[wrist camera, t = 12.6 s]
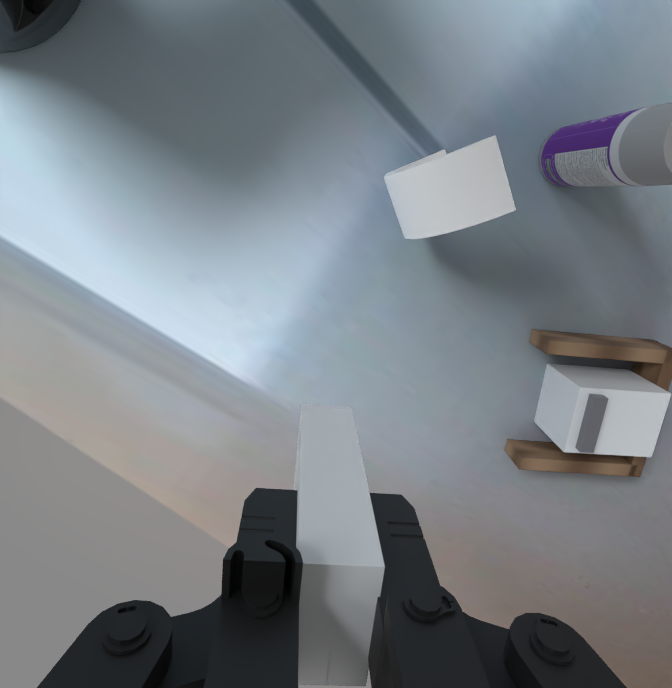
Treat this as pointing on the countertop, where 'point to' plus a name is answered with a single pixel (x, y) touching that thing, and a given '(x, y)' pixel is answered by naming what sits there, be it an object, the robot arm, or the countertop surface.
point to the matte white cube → (600, 410)
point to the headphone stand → (450, 190)
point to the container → (612, 150)
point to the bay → (648, 356)
